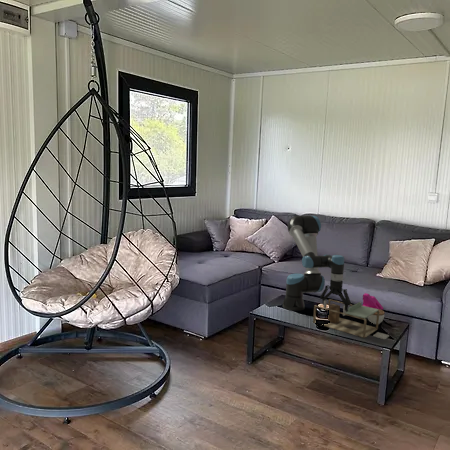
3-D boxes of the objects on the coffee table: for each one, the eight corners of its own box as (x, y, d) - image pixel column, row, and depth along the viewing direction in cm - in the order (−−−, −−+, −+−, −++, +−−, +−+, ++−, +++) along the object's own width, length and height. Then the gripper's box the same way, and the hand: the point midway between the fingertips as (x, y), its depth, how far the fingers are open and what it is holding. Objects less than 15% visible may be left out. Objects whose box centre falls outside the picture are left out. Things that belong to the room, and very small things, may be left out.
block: (328, 321, 285) (329, 305, 284) (331, 319, 289) (332, 303, 288) (335, 323, 282) (336, 307, 281) (338, 321, 286) (340, 305, 284)
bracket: (361, 308, 315) (363, 294, 314) (366, 305, 324) (367, 291, 322) (379, 312, 309) (380, 298, 307) (383, 309, 317) (384, 295, 316)
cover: (345, 313, 269) (346, 308, 268) (359, 306, 284) (360, 301, 283) (364, 318, 261) (365, 313, 260) (378, 310, 276) (378, 305, 276)
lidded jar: (384, 326, 282) (386, 312, 281) (367, 324, 284) (368, 310, 283) (382, 320, 293) (383, 306, 291) (365, 318, 295) (366, 305, 294)
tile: (373, 336, 265) (373, 335, 265) (377, 333, 271) (377, 332, 271) (384, 339, 261) (384, 338, 261) (389, 336, 266) (389, 335, 266)
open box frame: (312, 322, 284) (314, 305, 282) (328, 315, 299) (329, 298, 297) (364, 337, 262) (366, 319, 260) (377, 329, 277) (379, 311, 276)
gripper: (316, 277, 287) (314, 309, 290) (352, 284, 271) (350, 318, 274) (321, 275, 292) (319, 306, 295) (358, 282, 276) (355, 315, 279)
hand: (334, 312), depth 284 cm, fingers open, 13 cm apart
